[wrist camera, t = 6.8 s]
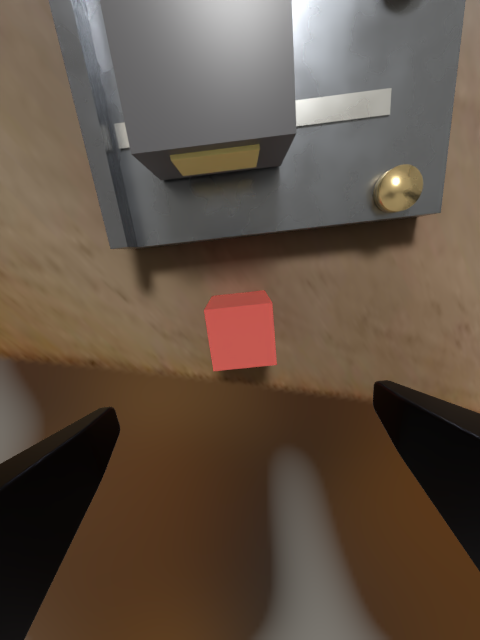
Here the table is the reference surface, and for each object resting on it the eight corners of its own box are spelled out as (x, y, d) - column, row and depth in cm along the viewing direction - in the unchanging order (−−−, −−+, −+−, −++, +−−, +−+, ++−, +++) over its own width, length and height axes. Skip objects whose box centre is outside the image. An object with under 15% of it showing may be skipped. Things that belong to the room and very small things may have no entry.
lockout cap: (264, 290, 18) (272, 302, 14) (268, 339, 19) (276, 364, 15) (212, 296, 18) (203, 310, 14) (219, 344, 19) (213, 371, 15)
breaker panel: (460, -247, 11) (556, -463, 8) (417, 216, 17) (462, 208, 13) (41, -177, 12) (-39, -349, 8) (135, 249, 17) (110, 249, 14)
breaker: (274, 55, 12) (290, -31, 9) (280, 169, 14) (296, 138, 10) (141, 74, 13) (98, -3, 9) (161, 184, 14) (132, 159, 10)
